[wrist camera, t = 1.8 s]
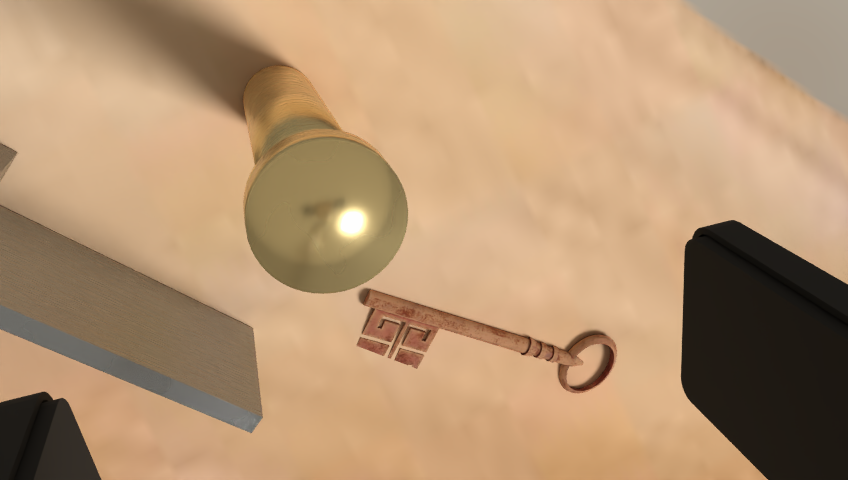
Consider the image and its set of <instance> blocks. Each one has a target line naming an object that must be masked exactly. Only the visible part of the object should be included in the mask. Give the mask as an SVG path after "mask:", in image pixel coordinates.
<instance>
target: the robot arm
mask: <svg viewBox="0 0 848 480" xmlns="http://www.w3.org/2000/svg"><path fill="white" fill-rule="evenodd" d="M681 382H682V386H683V389H684V392H685V394H686V396H687V397H688V399H689V400H690V401H691V403H692V404H693V405H694V406H695V407H696V408H697V409H698V410H699V411H700V412H701V413H702V414H703V415H704V416H705V417H706V418H707V419H708V420H709V421H710V422H711V423H712V424H713V425H714V426H715V427H716V428H717V429H718V430H719V431H720V432H721V433H722V434H723V435H724V436H725V437H726V438H727V439H728V440H729V441H730V442H731V443H732V444H733V445H734V446H735V447H736V448H737V449H738V450H739V451H740V452H741V453H742V454H743V455H744V456H745V457H746V458H747V459H748V460H749V461H750V462H751V463H752V464H753V465H754V466H755V467H756V468H757V469H758V470H759V471H760V472H761V473H762V474H763V475H764V476H765V477H766V478H767V479H768V480H848V284H846V283H844V282H842V281H841V280H839V279H837V278H835V277H834V276H832V275H830V274H828V273H827V272H825V271H823V270H821V269H820V268H818V267H816V266H814V265H813V264H811V263H809V262H808V261H806V260H804V259H802V258H801V257H799V256H797V255H795V254H794V253H792V252H790V251H788V250H787V249H785V248H783V247H781V246H780V245H778V244H776V243H774V242H773V241H771V240H769V239H768V238H766V237H764V236H762V235H761V234H759V233H757V232H755V231H754V230H752V229H750V228H748V227H747V226H745V225H743V224H741V223H740V222H737V221H734V220H731V221H726V222H722V223H718V224H714V225H710V226H706V227H702V228H699V229H697V230H696V231H695V233H694V235H693V238H692V239H691V240H689V241H688V242H687V244H686V246H685V261H684V295H683V329H682V363H681ZM0 480H101V478H100V476H99V473H98V471H97V469H96V466H95V464H94V462H93V459H92V457H91V455H90V452H89V450H88V447H87V445H86V443H85V440H84V438H83V436H82V433H81V431H80V429H79V426H78V424H77V422H76V419H75V417H74V415H73V412H72V410H71V408H70V406H69V404H68V402H67V401H66V400H65V399H64V398H60V399H56V400H53V399H52V397H51V396H50V395H49V394H48V393H46V392H40V393H36V394H32V395H28V396H24V397H20V398H16V399H12V400H8V401H4V402H1V403H0Z"/></svg>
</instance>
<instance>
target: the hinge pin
mask: <svg viewBox="0 0 848 480" xmlns="http://www.w3.org/2000/svg"><path fill="white" fill-rule="evenodd" d="M243 105H244V111H245V116H246V121H247V126H248V132H249V137H250V142H251V147H252V152H253V157H254V163H255V166H254V168H253V170H252V172H251V174H250V176H249V178H248V181H247V184H246V188H245V192H244V201H243V205H244V218H245V226H246V232H247V238H248V241H249V244H250V247H251V250H252V251H253V253H254V255H255V257H256V259H257V260H258V262H259V263H260V264H261V266H262V267H263V268H264V269H265V270H266V271H267V272H268V273H269V274H270V275H271V276H273V277H274V278H275V279H277V280H278V281H280V282H281V283H283V284H285V285H287V286H289V287H292V288H294V289H297V290H300V291H304V292H310V293H322V294H324V293H336V292H341V291H345V290H349V289H352V288H355V287H357V286H359V285H361V284H363V283H365V282H367V281H369V280H370V279H372V278H373V277H375V276H376V275H377V274H378V273H380V272H381V271H382V270H383V269H384V268H385V267H386V266H387V265H388V264H389V262H390V261H391V260H392V259H393V258H394V256H395V254H396V253H397V251H398V250H399V248H400V245H401V243H402V241H403V238H404V235H405V232H406V227H407V222H408V207H407V200H406V195H405V192H404V189H403V187H402V184H401V182H400V180H399V179H398V177H397V175H396V174H395V172H394V171H393V170H392V168H391V167H390V166H389V164H388V163H387V162H386V161H385V159H384V158H383V157H382V155H381V154H380V153H379V152H378V151H377V150H376V149H375V148H374V147H373V146H371V145H370V144H369V143H368V142H366V141H365V140H363V139H361V138H359V137H358V136H355V135H353V134H350V133H347V132H343V131H342V129H341V128H340V126H339V125H338V123H337V122H336V120H335V118H334V117H333V115H332V114H331V112H330V111H329V109H328V108H327V106H326V105H325V103H324V102H323V100H322V99H321V97H320V96H319V94H318V93H317V91H316V90H315V88H314V87H313V85H312V84H311V82H310V81H309V80H308V78H307V77H306V76H305V75H304V74H302V73H301V72H300V71H298V70H296V69H294V68H292V67H288V66H283V65H275V66H270V67H266V68H264V69H262V70H260V71H258V72H257V73H256V74H255V75H254V76H253V77H252V78H251V79H250V80H249V82H248V84H247V85H246V88H245V91H244V95H243Z"/></svg>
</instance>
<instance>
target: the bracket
mask: <svg viewBox="0 0 848 480" xmlns="http://www.w3.org/2000/svg"><path fill="white" fill-rule="evenodd" d="M16 154H17V152H16V151H14V150H12V149H10V148H8V147H6V146H4V145H2V144H0V181H1V179H2V178H3V176H4V174H5V173H6V171H7V169H8V168H9V166H10V164H11V163H12V161H13V159H14V158H15V156H16ZM0 329H1V330H4V331H6V332H9V333H11V334H13V335H16V336H18V337H21V338H23V339H26V340H28V341H30V342H33V343H35V344H38V345H40V346H42V347H45V348H47V349H50V350H52V351H54V352H57V353H59V354H62V355H64V356H67V357H69V358H71V359H74V360H76V361H79V362H81V363H83V364H86V365H88V366H91V367H93V368H95V369H98V370H100V371H103V372H105V373H108V374H110V375H112V376H115V377H117V378H120V379H122V380H124V381H127V382H129V383H132V384H134V385H136V386H139V387H141V388H144V389H146V390H148V391H151V392H153V393H156V394H158V395H161V396H163V397H165V398H168V399H170V400H173V401H175V402H177V403H180V404H182V405H185V406H187V407H189V408H192V409H194V410H197V411H199V412H202V413H204V414H206V415H209V416H211V417H214V418H216V419H218V420H221V421H223V422H226V423H228V424H230V425H233V426H235V427H238V428H240V429H243V430H245V431H247V432H250V433H252V431H253V430H254V429H255V427H256V426H257V425H258V423H259V422H260V420H261V419H262V418H263V416H262V406H261V397H260V388H259V379H258V370H257V361H256V351H255V342H254V333H253V328H251V327H249V326H247V325H245V324H243V323H241V322H239V321H237V320H235V319H233V318H231V317H229V316H227V315H225V314H223V313H221V312H219V311H216V310H214V309H212V308H210V307H208V306H206V305H204V304H202V303H200V302H198V301H196V300H194V299H192V298H190V297H188V296H186V295H184V294H181V293H179V292H177V291H175V290H173V289H171V288H169V287H167V286H165V285H163V284H161V283H159V282H157V281H155V280H153V279H151V278H149V277H147V276H144V275H142V274H140V273H138V272H136V271H134V270H132V269H130V268H128V267H126V266H124V265H122V264H120V263H118V262H116V261H114V260H112V259H109V258H107V257H105V256H103V255H101V254H99V253H97V252H95V251H93V250H91V249H89V248H87V247H85V246H83V245H81V244H79V243H77V242H74V241H72V240H70V239H68V238H66V237H64V236H62V235H60V234H58V233H56V232H54V231H52V230H50V229H48V228H46V227H44V226H42V225H40V224H37V223H35V222H33V221H31V220H29V219H27V218H25V217H23V216H21V215H19V214H17V213H15V212H13V211H11V210H9V209H7V208H5V207H2V206H0Z"/></svg>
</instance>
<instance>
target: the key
mask: <svg viewBox="0 0 848 480" xmlns="http://www.w3.org/2000/svg"><path fill="white" fill-rule="evenodd" d="M363 305H365V306H368V307H371V308H374V310H373V312H372V314H371V316H370V318H369V320H368V322H367V324H366V327H365V329H364V331H363V333H362V334H364V335H368V336H371V337H375V338H378V339H382V340H385V341H389V342H391V341H392V340H393V338H394V336H395V334H396V332H397V330H398V328H399V326H400V324H399V323H395V322H392V321H388V320H384V322H383V325H382V327H378V325H379V323H380V321H381V319H382V317H383V316H386V317H389V318H392V319H396V320H399V321H402V322H405V323H404V325H403V327H402V329H401V331H400V333H399V335H398V337H397V339H396V341H395V343H394V346H393V348H392V350H391V352H390V354H389V356H388V358H390V359H391V357H392V355H393V353H394V351H395V350H396V348H397V346H398V344H399V342H400V340H401V338H402V336H403V335H404V333H405V331H406V329H407V327H408V325H409V324H411V325H414V326H418V327H421V328H424V329H428V330H430V331H429V333H428V335H427V337H426V339H425V340H422V339H423V337H424V335H425V331H423V330H419V329H416V328H412V327H410V329H409V331H408V333H407V335H406V338H405V340H404V342H403V344H402V345H403V346H406V347H410V348H413V349H417V350H420V351H424V352H426V351H427V349H428V348H429V346H430V344H431V342H432V340H433V339H434V337H435V335H436V333H437V331H438V330H439V328H441V329H444V330H448V331H451V332H454V333H458V334H461V335H464V336H467V337H471V338H474V339H477V340H481V341H484V342H487V343H491V344H494V345H497V346H501V347H504V348H507V349H511V350H514V351H517V352H521V354H522V355H526V356H534V357H536V358H539V359H542V358H544V359H546V360H547V361H550V362H557V363H561V366H560V371H559V380H560V383H561V385H562V386H563V388H564V389H566V390H567V391H569V392H572V393H583V392H586V391H589V390H591V389H593V388H595V387H596V386H598V385H599V384H600V383H602V382H603V381H604V380H605V379H606V378H607V376H608V375H609V374H610V372H611V371H612V369H613V367H614V364H615V362H616V357H617V349H616V345H615V343H614V341H613V340H612V339H611V338H610V337H608V336H604V335H592V336H589V337H586V338H584V339H582V340H581V341H579V342H578V343H576V344H575V345H574V346H573V347H572V348H571V349H570V350H569V351H568V352H566V351H563V350H560V349H558V348H557V347H554V346H552V347H550V346H547V345H546V344H545V343H542V342H540V343H537V342H536V340H534V339H532V338H530V337H529V339H528V338H525V337H522V336H518V335H515V334H512V333H509V332H506V331H502V330H499V329H496V328H493V327H490V326H486V325H483V324H480V323H477V322H474V321H470V320H467V319H464V318H461V317H457V316H454V315H451V314H448V313H445V312H441V311H438V310H435V309H432V308H429V307H425V306H422V305H419V304H416V303H412V302H409V301H406V300H403V299H400V298H396V297H393V296H390V295H387V294H383V293H380V292H377V291H374V290H369V292H368V295H367V297H366V299H365V301H364V303H363ZM594 344H606V345H608V346H609V347H610V358H609V362H608V365H607V367H606V369H605V370H604V372H603V373H602V374H601V376H600V377H599V378H598V379H597V380H596V381H594V382H593V383H592V384H590V385H588V386H586V387H583V388H579V389H575V388H571V387H569V386H568V384H567V380H566V375H567V370H568V368H569V366H578V365H583V361H582V360H580V359H579V358H578V357H577V355H578V353H580V352H581V351H582V350H584V349H585V348H587V347H589V346H591V345H594ZM357 346H359V347H361V348H364V349H367V350H369V351H372V352H375V353H377V354H380V355H383V356H384V355H385V353H386V351H387V349H388V347H389V345H386V344H383V343H379V342H376V341H372V340H368V339H365V338H361V337H360V339H359V342H358V344H357ZM423 357H424V355H422V354H419V353H415V352H412V351H408V350H404V349H401V348H400V350H399V352H398V354H397V356H396V358H395V360H396V361H398V362H401V363H404V364H406V365H408V364H409V365H412V367H414V368H418V366H419V364H420V362H421V360H422V359H423Z"/></svg>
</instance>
